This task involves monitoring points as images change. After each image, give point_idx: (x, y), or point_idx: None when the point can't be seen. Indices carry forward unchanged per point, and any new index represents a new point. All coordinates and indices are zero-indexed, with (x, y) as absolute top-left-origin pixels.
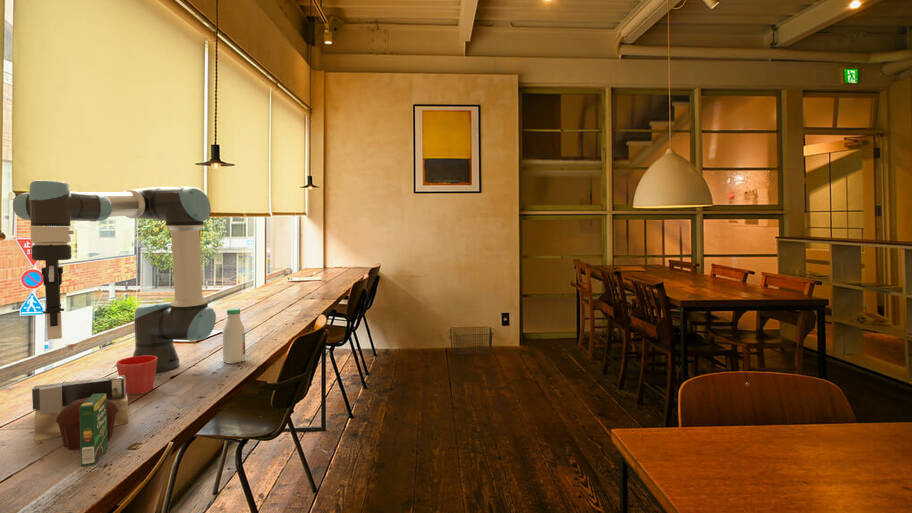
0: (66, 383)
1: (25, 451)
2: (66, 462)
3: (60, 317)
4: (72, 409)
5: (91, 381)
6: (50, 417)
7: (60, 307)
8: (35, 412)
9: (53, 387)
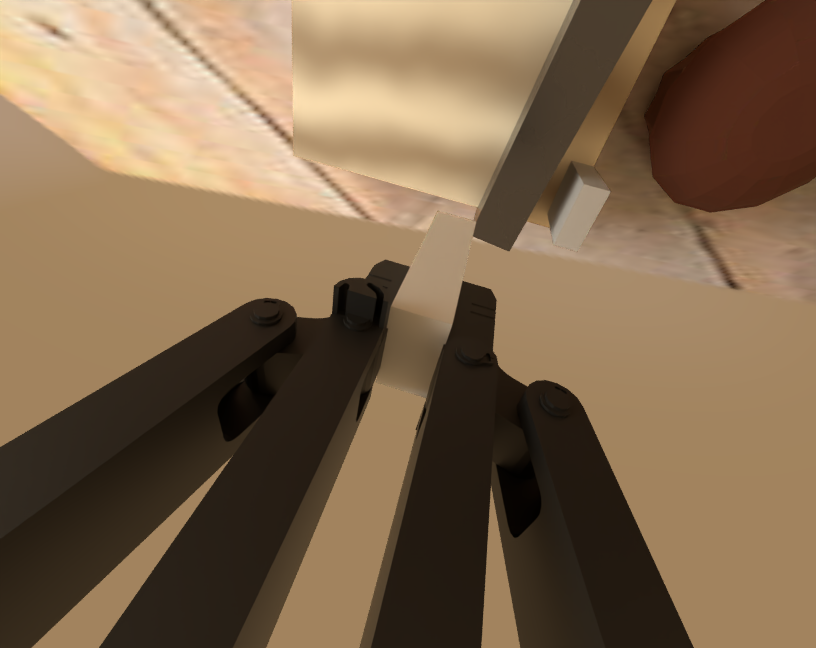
0: (530, 151)
1: (607, 235)
2: (805, 190)
3: (455, 298)
4: (786, 184)
5: (602, 56)
6: None
7: (355, 329)
8: (529, 221)
9: (595, 214)
